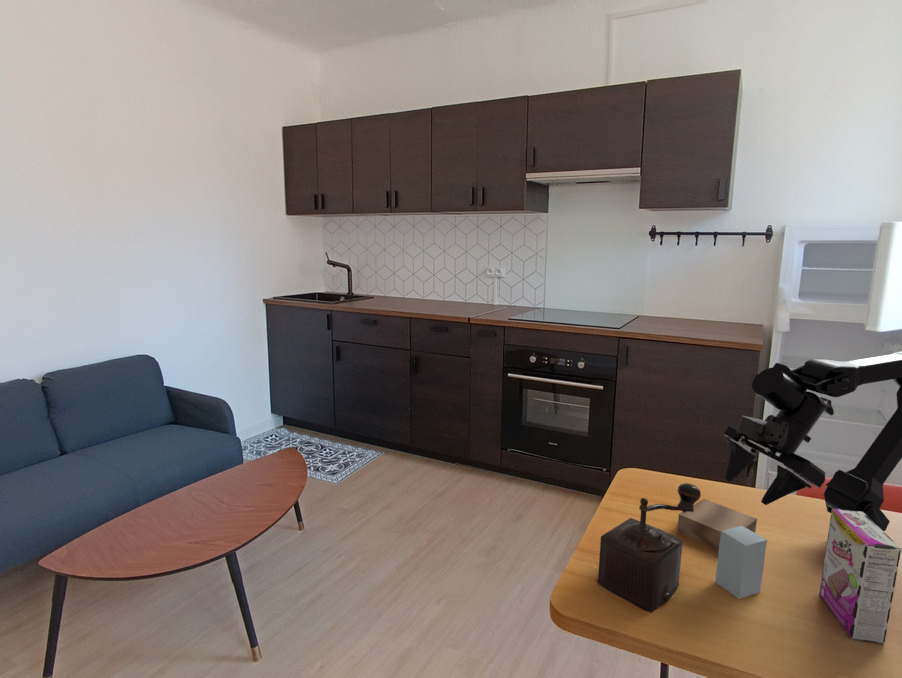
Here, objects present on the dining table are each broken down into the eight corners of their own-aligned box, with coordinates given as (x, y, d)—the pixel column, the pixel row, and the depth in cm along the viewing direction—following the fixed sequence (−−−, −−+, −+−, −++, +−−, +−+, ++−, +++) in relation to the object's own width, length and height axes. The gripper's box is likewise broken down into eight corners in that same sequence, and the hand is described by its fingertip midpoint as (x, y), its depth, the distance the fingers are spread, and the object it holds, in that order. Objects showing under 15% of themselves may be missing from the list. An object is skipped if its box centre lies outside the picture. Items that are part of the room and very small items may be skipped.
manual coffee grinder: (654, 616, 88) (663, 514, 84) (595, 583, 96) (602, 489, 93) (696, 577, 98) (706, 485, 95) (640, 551, 106) (647, 465, 103)
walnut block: (754, 536, 112) (757, 518, 111) (731, 555, 105) (733, 536, 104) (702, 515, 120) (704, 498, 119) (677, 531, 113) (678, 514, 112)
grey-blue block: (735, 575, 99) (741, 525, 97) (759, 592, 94) (767, 539, 92) (715, 581, 97) (721, 530, 95) (739, 599, 92) (746, 545, 90)
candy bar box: (816, 594, 94) (830, 507, 91) (848, 598, 93) (863, 510, 90) (849, 640, 83) (866, 543, 80) (886, 646, 82) (904, 547, 79)
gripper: (728, 385, 105) (683, 451, 106) (808, 417, 88) (752, 495, 88) (766, 413, 108) (721, 477, 109) (850, 449, 91) (796, 525, 91)
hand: (744, 491), depth 99 cm, fingers open, 9 cm apart
